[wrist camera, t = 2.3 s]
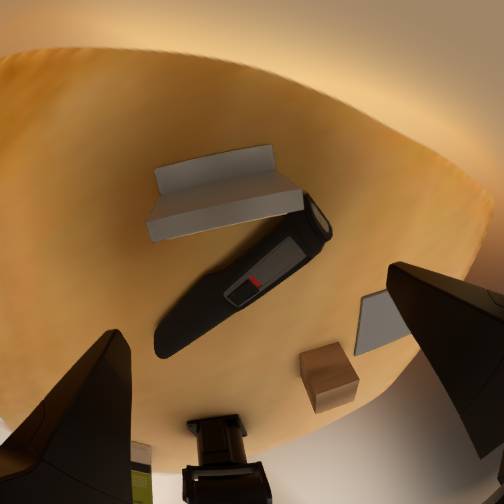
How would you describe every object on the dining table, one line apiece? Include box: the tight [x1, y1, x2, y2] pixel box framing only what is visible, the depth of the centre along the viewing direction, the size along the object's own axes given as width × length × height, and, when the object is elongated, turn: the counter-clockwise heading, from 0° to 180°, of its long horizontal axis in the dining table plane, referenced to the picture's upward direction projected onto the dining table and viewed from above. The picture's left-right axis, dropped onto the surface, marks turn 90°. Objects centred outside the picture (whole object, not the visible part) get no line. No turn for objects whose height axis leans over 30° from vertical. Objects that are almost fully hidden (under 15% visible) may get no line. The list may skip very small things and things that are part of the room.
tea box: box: [131, 441, 153, 504], centre depth 24 cm, size 15×10×15 cm, turn 149°
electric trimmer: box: [154, 193, 333, 359], centre depth 18 cm, size 4×16×3 cm, turn 129°
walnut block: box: [300, 342, 360, 414], centre depth 23 cm, size 4×4×5 cm
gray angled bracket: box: [145, 144, 304, 243], centre depth 13 cm, size 3×7×5 cm, turn 99°
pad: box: [354, 289, 411, 356], centre depth 24 cm, size 8×8×1 cm
